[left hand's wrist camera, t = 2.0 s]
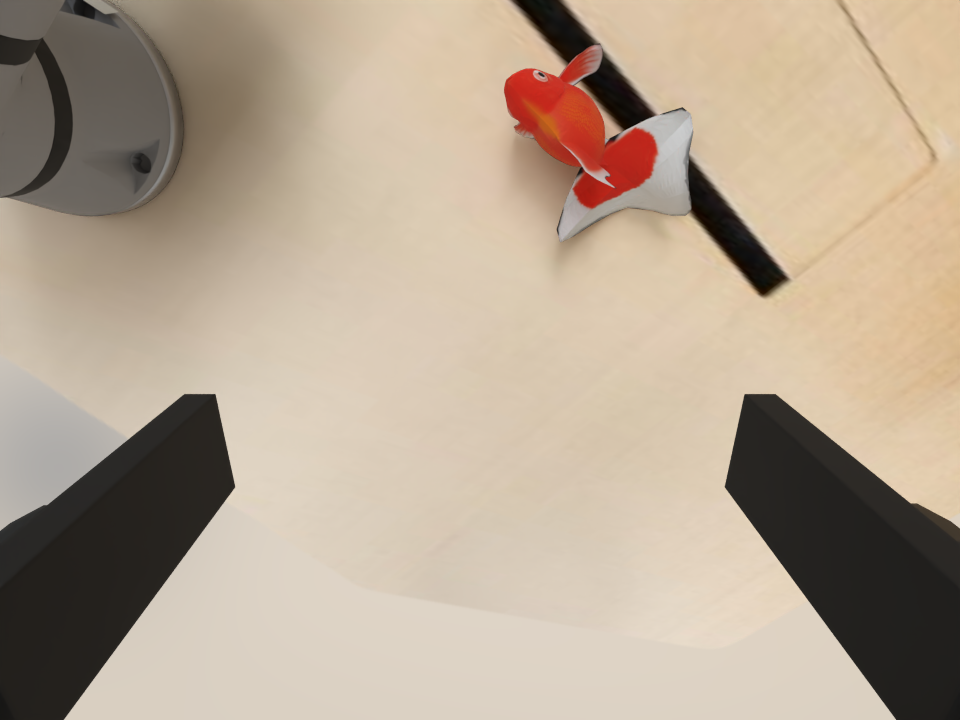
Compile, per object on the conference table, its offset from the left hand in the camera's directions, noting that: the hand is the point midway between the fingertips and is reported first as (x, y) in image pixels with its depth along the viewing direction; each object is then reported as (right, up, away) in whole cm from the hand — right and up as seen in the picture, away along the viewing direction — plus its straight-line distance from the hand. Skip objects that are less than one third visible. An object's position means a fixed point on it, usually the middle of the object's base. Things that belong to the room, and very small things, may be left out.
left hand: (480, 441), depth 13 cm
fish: (+8, +18, +26) cm, 32 cm away
